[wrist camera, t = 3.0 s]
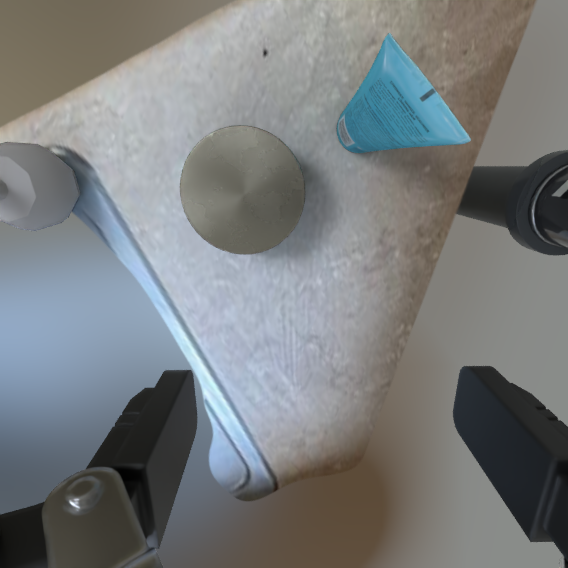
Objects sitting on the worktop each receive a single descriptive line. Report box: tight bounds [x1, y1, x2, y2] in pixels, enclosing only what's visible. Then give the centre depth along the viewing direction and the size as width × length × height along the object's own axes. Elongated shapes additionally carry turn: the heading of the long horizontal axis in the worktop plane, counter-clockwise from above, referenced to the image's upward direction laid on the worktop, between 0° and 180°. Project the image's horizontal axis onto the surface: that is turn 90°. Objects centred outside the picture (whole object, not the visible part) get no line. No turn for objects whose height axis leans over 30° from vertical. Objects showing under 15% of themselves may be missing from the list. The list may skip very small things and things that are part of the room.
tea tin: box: [180, 125, 305, 254], centre depth 36 cm, size 11×11×8 cm
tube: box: [337, 33, 471, 153], centre depth 29 cm, size 7×5×19 cm, turn 50°
